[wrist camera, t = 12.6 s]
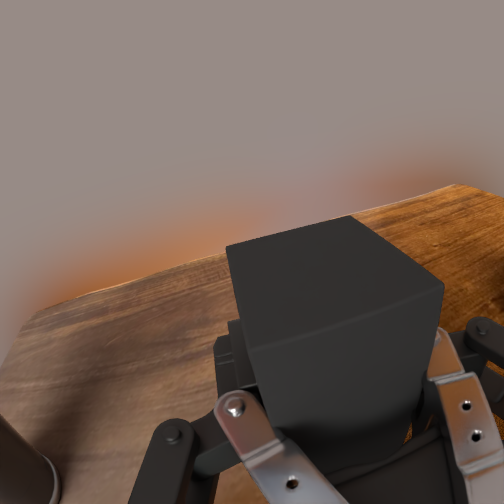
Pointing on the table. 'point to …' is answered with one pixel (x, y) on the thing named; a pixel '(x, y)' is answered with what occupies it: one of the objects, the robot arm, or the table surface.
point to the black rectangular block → (336, 336)
